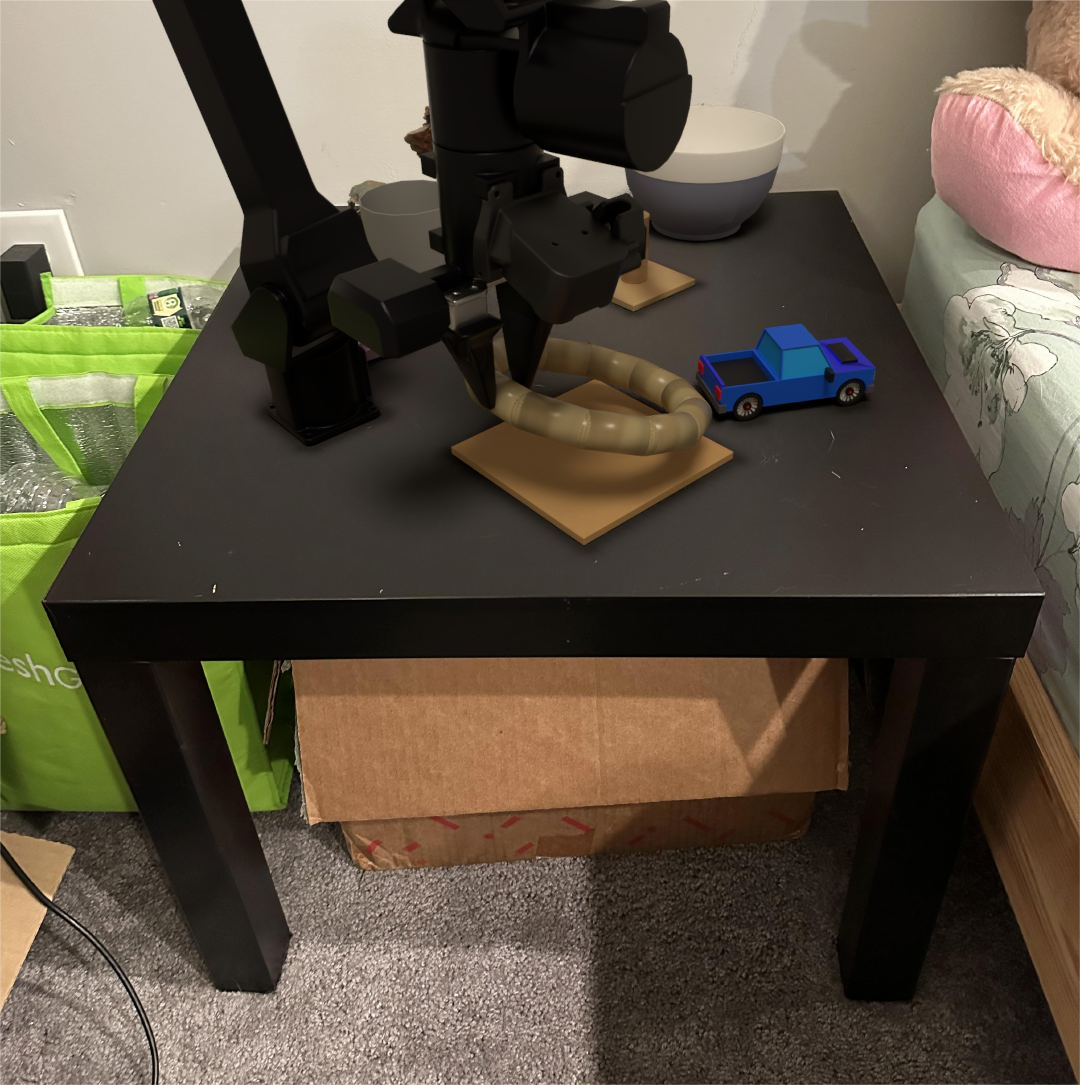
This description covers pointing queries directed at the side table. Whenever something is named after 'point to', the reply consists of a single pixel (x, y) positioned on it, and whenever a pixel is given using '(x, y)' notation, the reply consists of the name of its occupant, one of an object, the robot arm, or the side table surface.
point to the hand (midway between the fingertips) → (504, 399)
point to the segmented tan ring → (602, 427)
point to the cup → (403, 222)
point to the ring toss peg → (648, 282)
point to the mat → (586, 469)
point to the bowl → (712, 173)
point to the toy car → (785, 372)
